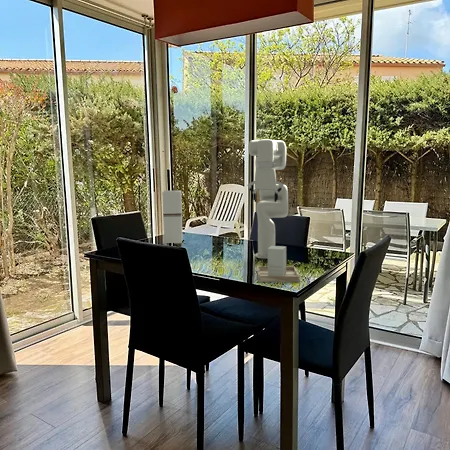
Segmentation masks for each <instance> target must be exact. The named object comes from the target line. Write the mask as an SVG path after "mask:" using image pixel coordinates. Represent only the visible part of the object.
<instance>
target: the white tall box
mask: <svg viewBox="0 0 450 450" xmlns="http://www.w3.org/2000/svg"><path fill="white" fill-rule="evenodd" d="M162 214H163V215H162V216H163V217H162V219H163V220H162V221H163V222H162V223H163V244H164V243H174V244H182V241H183V209H182V190H163V191H162ZM182 245H183V244H182Z"/></svg>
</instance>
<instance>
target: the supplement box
mask: <svg viewBox="0 0 450 450" xmlns="http://www.w3.org/2000/svg"><path fill="white" fill-rule="evenodd" d="M267 250H268V259H267V267H268V275H269V276H284V275H285V274H286V267H287V246H284V245H275V246H270V247H269V248H268V249H267Z"/></svg>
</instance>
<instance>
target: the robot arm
mask: <svg viewBox="0 0 450 450" xmlns="http://www.w3.org/2000/svg"><path fill="white" fill-rule="evenodd" d="M247 147H248V153H249V155H250V156H253V157H255V156H257V157H256V158H255V173H254V180H253V181H251V182H249V183H248V184H247V188H248V189H249V191H250V192H251V193H252V196H253V197H252V201H254V202H255V203H256V206H255V207H256V210H255V211H256V215H257V252H256V253H255V257H256V258H258V259H263V260H265V259H267V260H268V250H267V249H268V248H269V247H270V246H276V224H275V222H274V221H273V220H272V219H273V218H286V217H287V216H288V215H289V190H288V187H287V185H285V184H284V183H282V182H280V181H278V180H277V173H276V170H277V171H278V170H279V171H281V170H284V169H285V168H286V165H287V146H286V143H285V141H284V140H280V139H279V140H273V139H267V138H265V139H255V140H254V139H253V140H250V141H249V143H248V146H247ZM252 186H254V189H253V188H252ZM258 190H259V192H258ZM256 192H258V193H259V199H260V201H258V202H257V193H256Z"/></svg>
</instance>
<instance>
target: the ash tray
mask: <svg viewBox="0 0 450 450" xmlns="http://www.w3.org/2000/svg"><path fill="white" fill-rule="evenodd" d="M256 268H257V270H256V271H257V279H258V283H300V282H301V276H300V274H299V272H298V269H297V268H296V266H286V274H285V275H284V276H269V275H268V266H257V267H256Z"/></svg>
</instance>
